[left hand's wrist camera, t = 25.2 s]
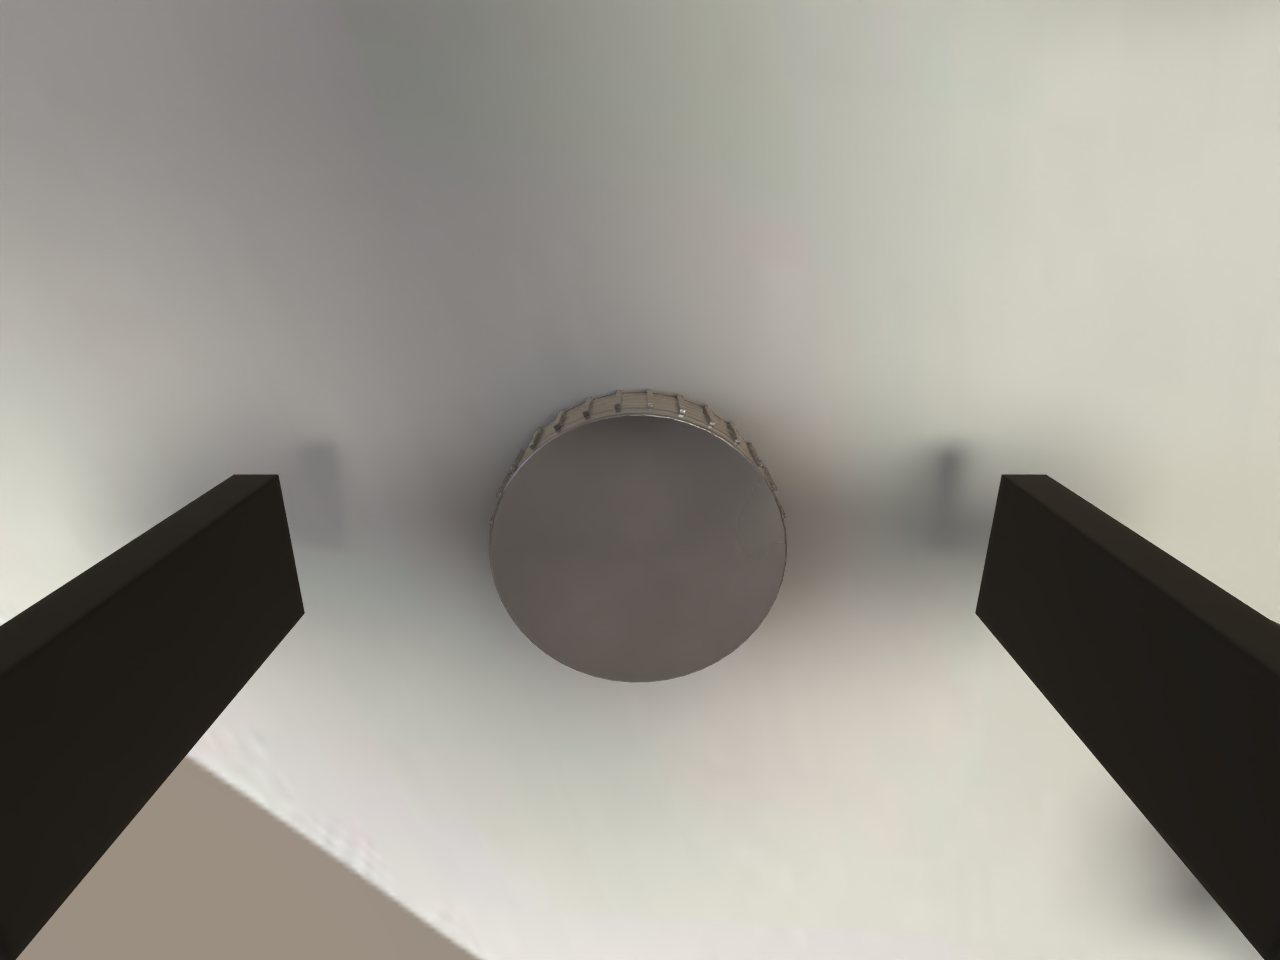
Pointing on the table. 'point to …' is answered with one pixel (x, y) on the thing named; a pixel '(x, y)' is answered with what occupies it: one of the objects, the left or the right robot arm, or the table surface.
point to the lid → (638, 538)
